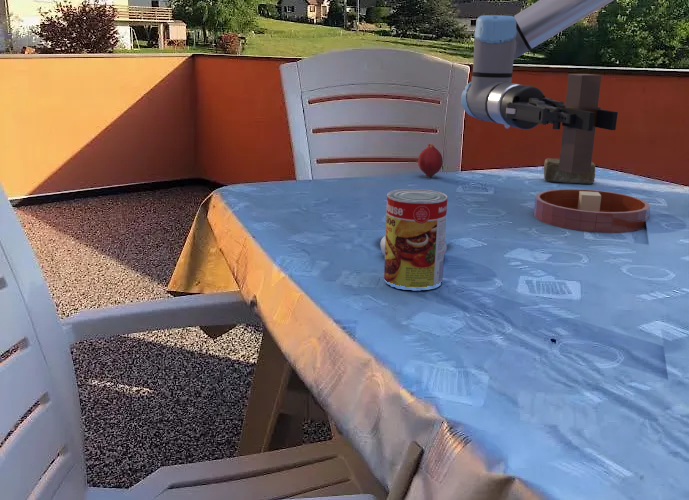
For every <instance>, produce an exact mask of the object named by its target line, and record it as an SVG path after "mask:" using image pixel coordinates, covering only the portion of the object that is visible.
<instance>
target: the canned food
mask: <svg viewBox="0 0 689 500" xmlns="http://www.w3.org/2000/svg"><path fill="white" fill-rule="evenodd" d="M447 212H448V195H447V194H445V193H444V192H441V191H438V190H433V189H425V188H424V189H423V188H401V189H395V190H391V191H389V192H388V193H386V214H385V235H386V238H385V255H384V266H383V267H384V269H383V270H384V271H383V272H384V273H383V280H384V279H385V280H386V281H387V282H390V283H393V284H395V285H399V286H400V285H401V286H405V287H427V286H433V285H436V284H439V283H440V282H442V283H443V279H444V278H443V277H444V261H445V254H444V247H445V242H446V230H447V229H446V227H447Z"/></svg>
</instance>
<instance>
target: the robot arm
mask: <svg viewBox="0 0 689 500" xmlns="http://www.w3.org/2000/svg"><path fill="white" fill-rule="evenodd" d="M612 2H614V0H537V1H536V2H533V4H531V5H529V6H527V7H526V8H524V9H523V10H521V11H520V12H518V13H516V14H515V15H498V14H497V15H493V14H492V15H490V14H488V15H487V14H486V15H479V16H478V17H477V19H476V20H475V30H474V33H473V37H474V43H473V44H474V45H473V60H472V73H471V81H470V82H468V83H467V84H466V85H465V86H464V88H463V90H462V93H461V97H460V103H461V107H462V109H463V110H464V112H465V113H466V114H467V115H469V116H470V117H473V118H475V119H476V120H479V121H482V122H483V121H485V122H490V123H495V124H499V125H503V126H504V129H507V130H508V129H509V128H510V127H512V128H516V129H519V130H531V129H534V128H535V127H537V126H538V125H539V124H540V125H543V126H546V125H549V124H551V125H552V130H560V129H561V126H562V127H563V126H567V127H572V128H577V129H582V130H587V131H592V130H593V121H594V113H595V112H589V111H583V110H576V109H570V108H565V102H564V101H562V100H554V99H553V98H551V97H546V96H545V93H544V92H543V91H542V90H541V89H540V88H538V87H537V86H532V85H526V84H519V83H513V81H512V80H513V69H514V60H515V59H517V58H519V57H520V56H522V55H524V54H525V53H527V52H529V51H531V50H532V49H534V48H535V47H537V46H539V45H541V44H542V43H544V42H546V41H547V40H549V39H551V38H552V37H554V36H556V35H557V34H560V33H561V32H563V31H564V30H566V29H569V28H570V27H571V26H572V25H574V24H576V23H578V22H579V21H581V20H583V19H585V18H587V17H588V16H590V15H591V14H593V13H595V12H597V11H598V10H600V9H602V8H604V7H605V6H607V5H608V4H610V3H612ZM618 114H619V112H618V111H615V110H608V109H603V108H602V107H600V106H598V109H597V118H596V126H595V128H598V129H603V130H609V131H616V130H617V129H616V128H617V121H618Z"/></svg>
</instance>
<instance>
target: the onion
mask: <svg viewBox="0 0 689 500" xmlns="http://www.w3.org/2000/svg"><path fill="white" fill-rule="evenodd" d="M443 159H444V158H443V155H442V154H441V152H440V151H439V150H438V149H437V148H436V147H435V145H434V143H431V142H430V143H428V144H427V147H426V148H424V149H423V150H421V152H420V153H419V156H418V160H417V166H418V168H419V170H420V171H421V172H422V173H423V174H424V175H425V176H426V177H428V178H432V177H433V176H435V175H436V174H438V173H439V172H440V170H442V167H443V163H444V161H443Z"/></svg>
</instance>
